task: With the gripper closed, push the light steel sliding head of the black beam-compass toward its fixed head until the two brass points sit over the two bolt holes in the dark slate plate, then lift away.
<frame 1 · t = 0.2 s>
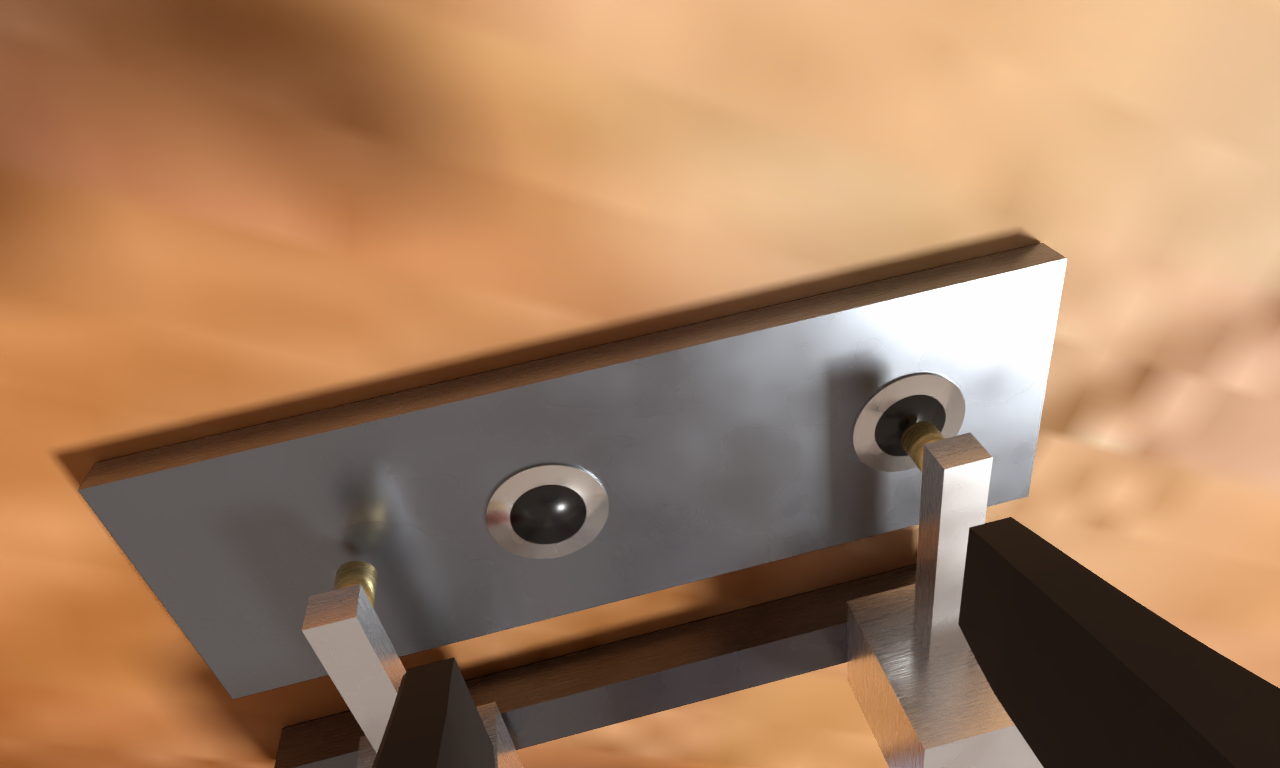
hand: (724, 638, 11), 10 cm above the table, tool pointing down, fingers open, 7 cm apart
fixed divider leg: (885, 592, 27), resting on bolt hole plate
sliding divider leg: (407, 767, 21), point 4 cm above the table, slide at 15.0 cm
bolt hole plate: (615, 470, 22), on the table
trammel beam: (656, 651, 26), on the table
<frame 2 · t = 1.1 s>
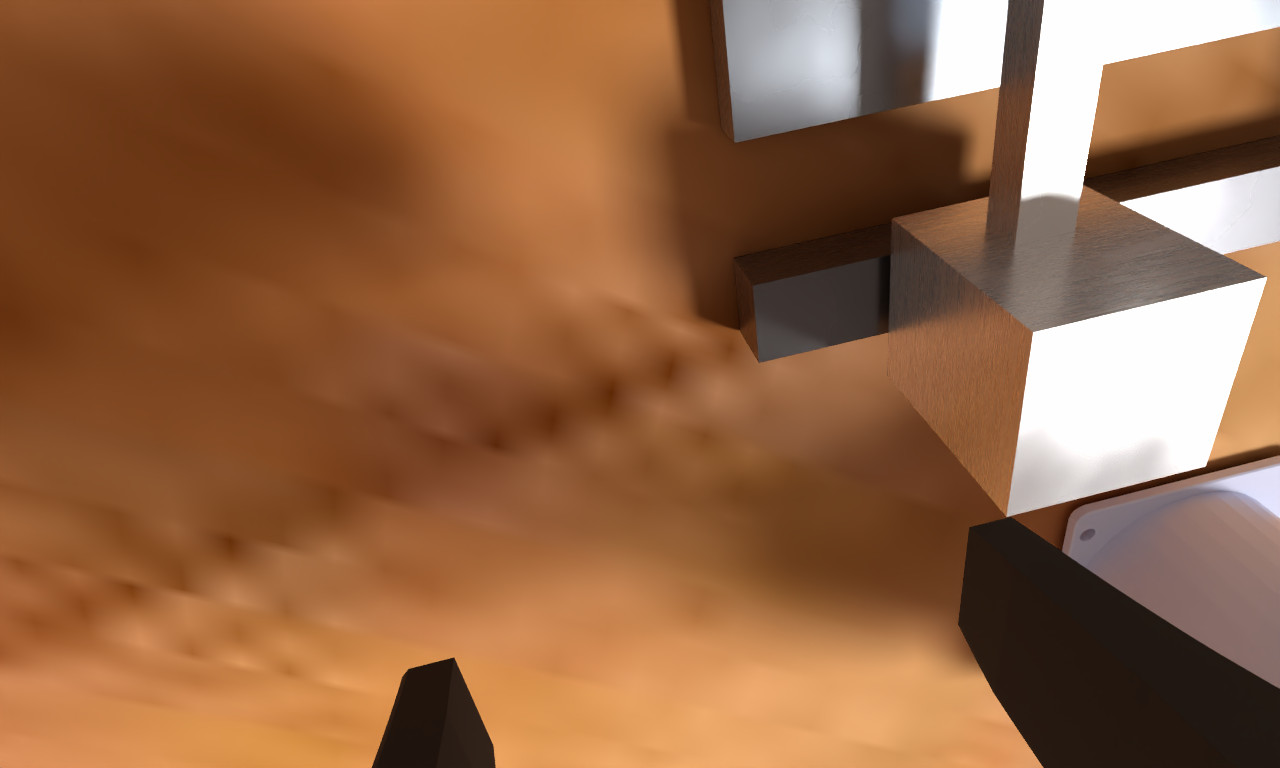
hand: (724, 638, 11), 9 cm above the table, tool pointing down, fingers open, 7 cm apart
sliding divider leg: (1063, 163, 14), point 4 cm above the table, slide at 15.0 cm
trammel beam: (1199, 190, 20), on the table
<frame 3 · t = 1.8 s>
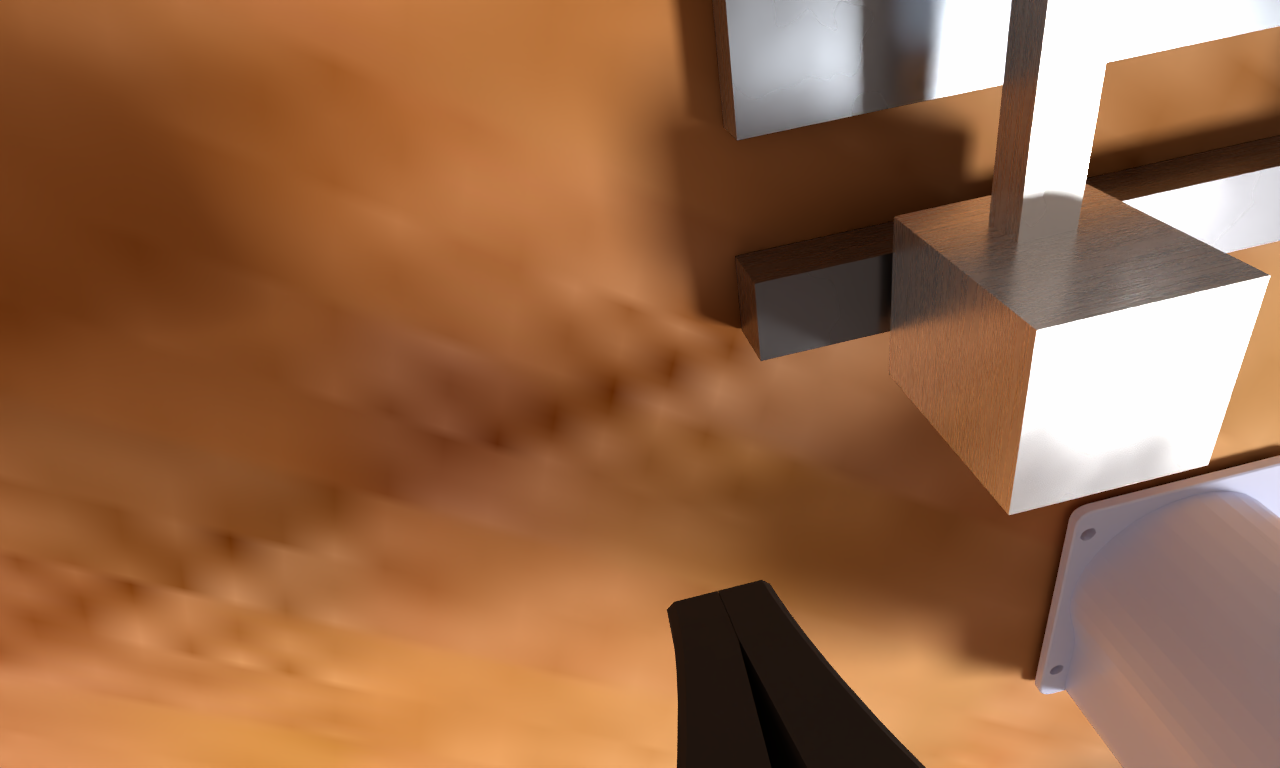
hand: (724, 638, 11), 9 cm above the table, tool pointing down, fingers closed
sliding divider leg: (1066, 161, 14), point 4 cm above the table, slide at 15.0 cm
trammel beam: (1201, 189, 20), on the table
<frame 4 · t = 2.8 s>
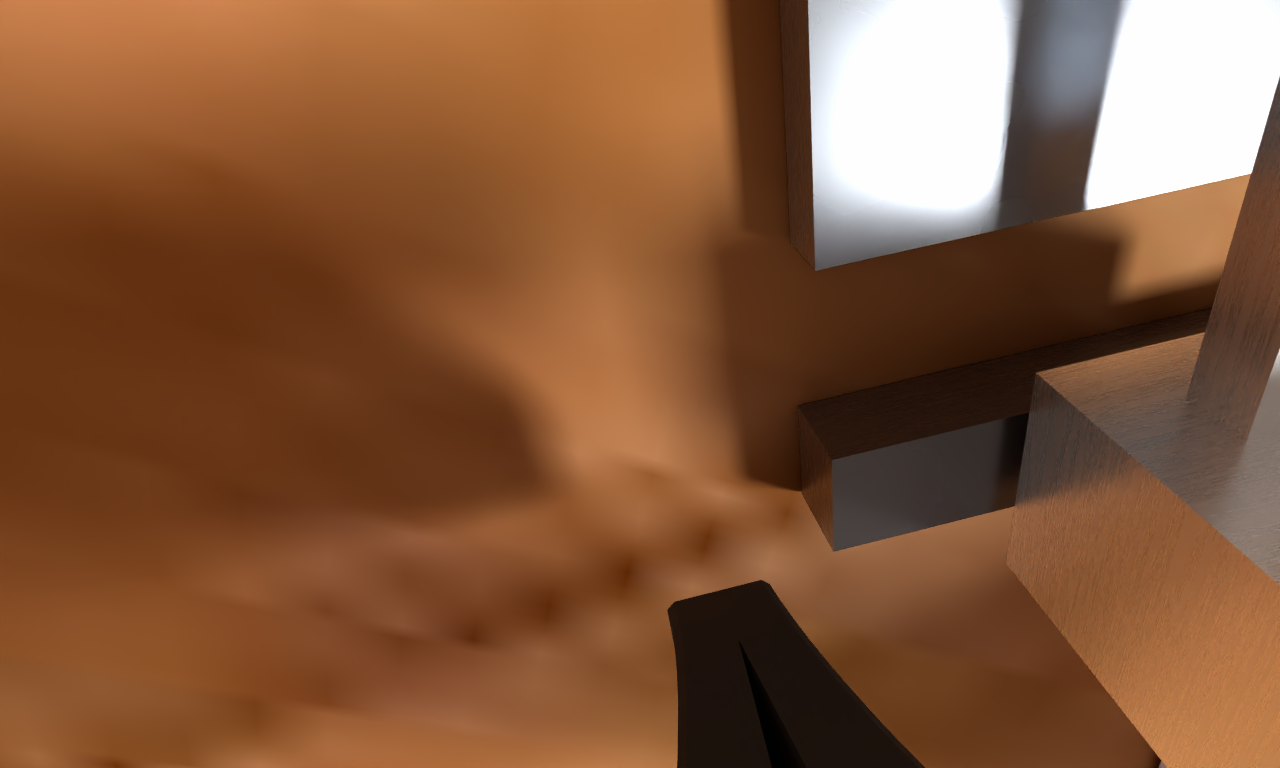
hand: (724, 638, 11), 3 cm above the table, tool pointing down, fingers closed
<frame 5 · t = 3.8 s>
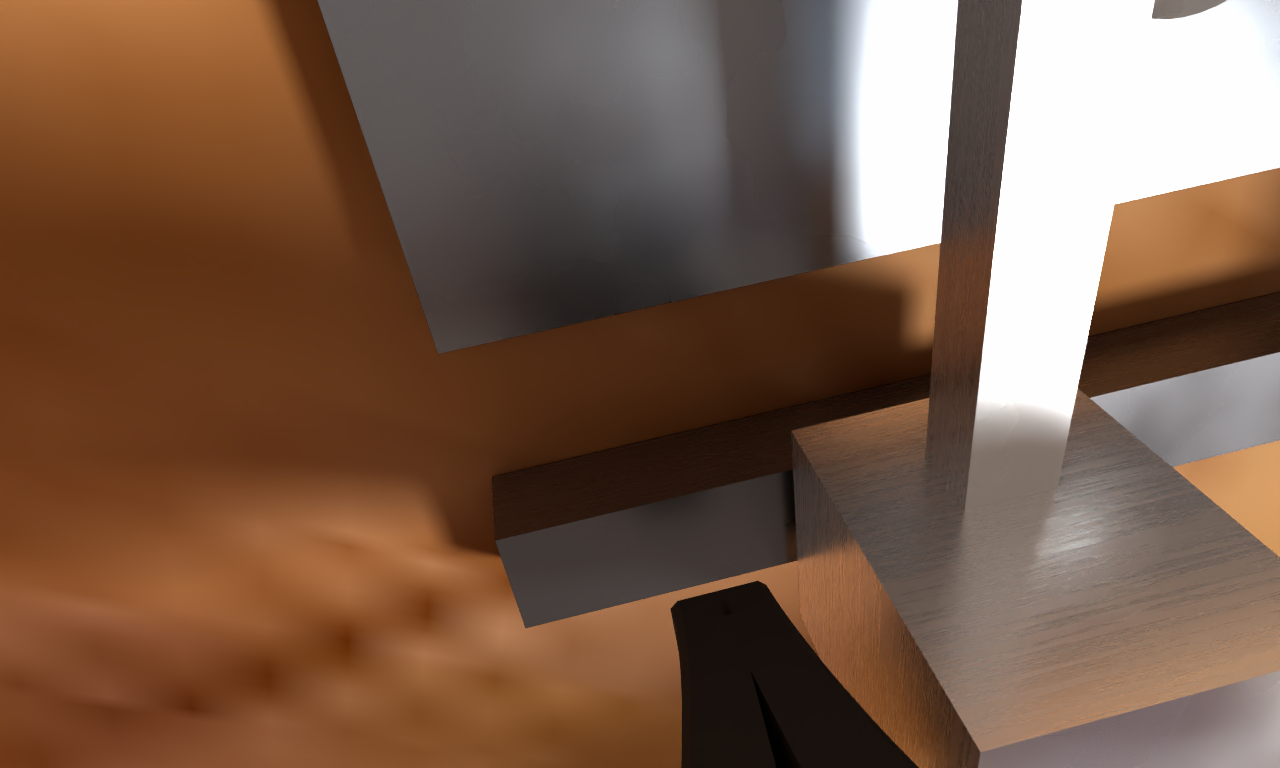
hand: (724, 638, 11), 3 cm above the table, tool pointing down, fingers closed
sliding divider leg: (1038, 408, 9), point 4 cm above the table, slide at 13.5 cm, touching gripper
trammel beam: (1156, 365, 14), on the table
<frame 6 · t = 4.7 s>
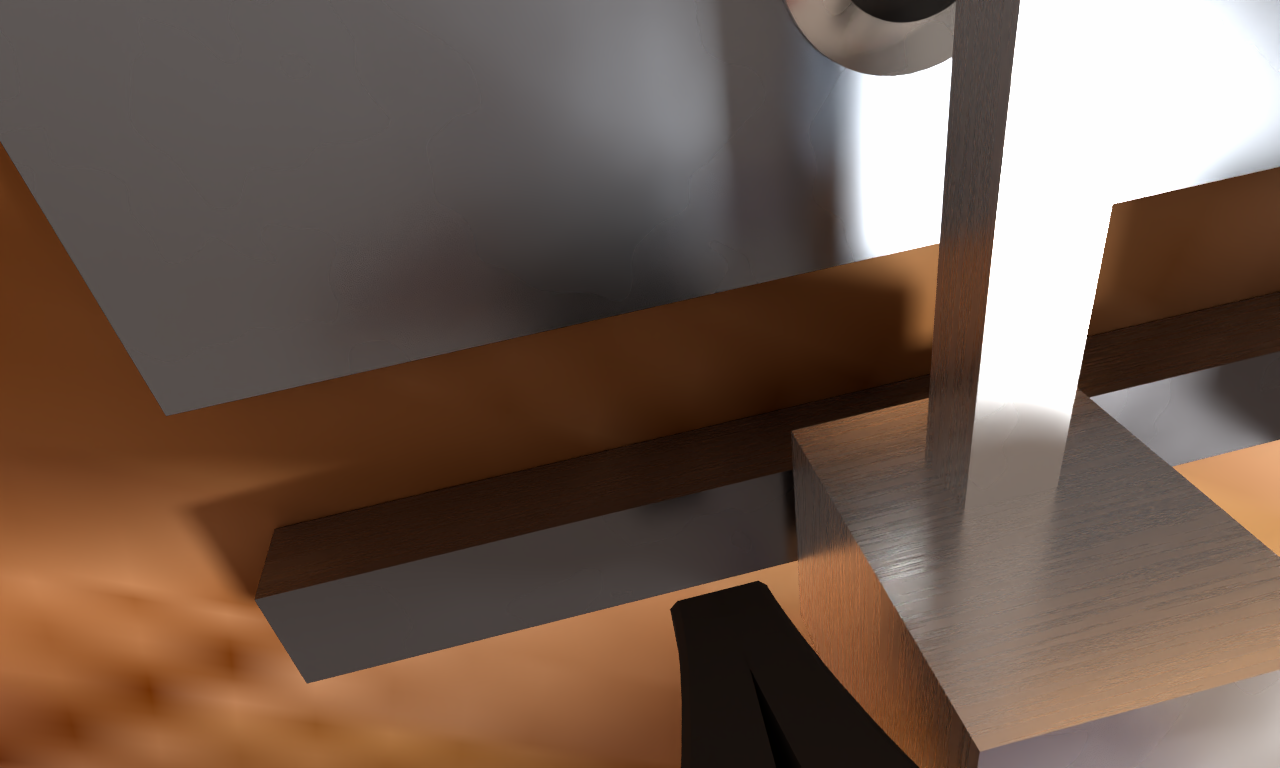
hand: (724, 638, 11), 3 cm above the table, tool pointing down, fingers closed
sliding divider leg: (1037, 408, 9), point 4 cm above the table, slide at 9.9 cm, touching gripper
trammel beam: (972, 409, 14), on the table
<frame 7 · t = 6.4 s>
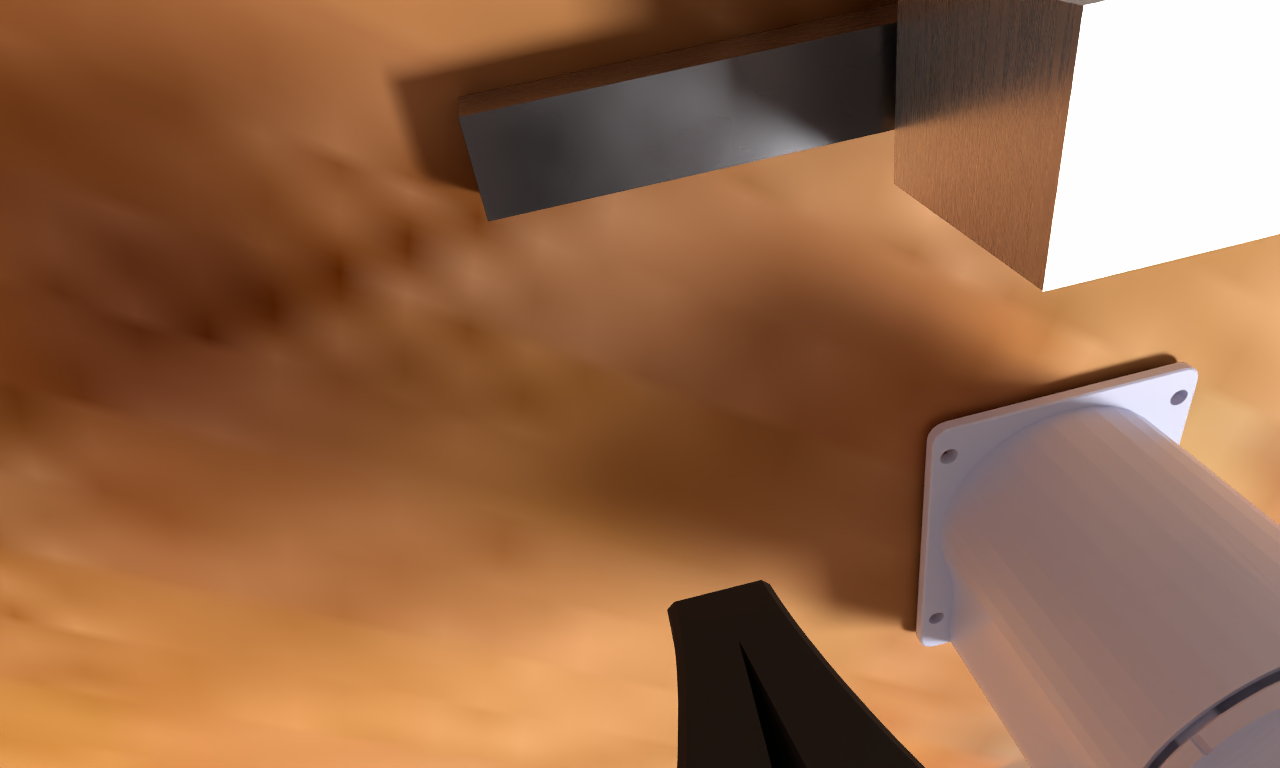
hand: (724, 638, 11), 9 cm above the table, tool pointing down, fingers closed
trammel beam: (1032, 25, 17), on the table
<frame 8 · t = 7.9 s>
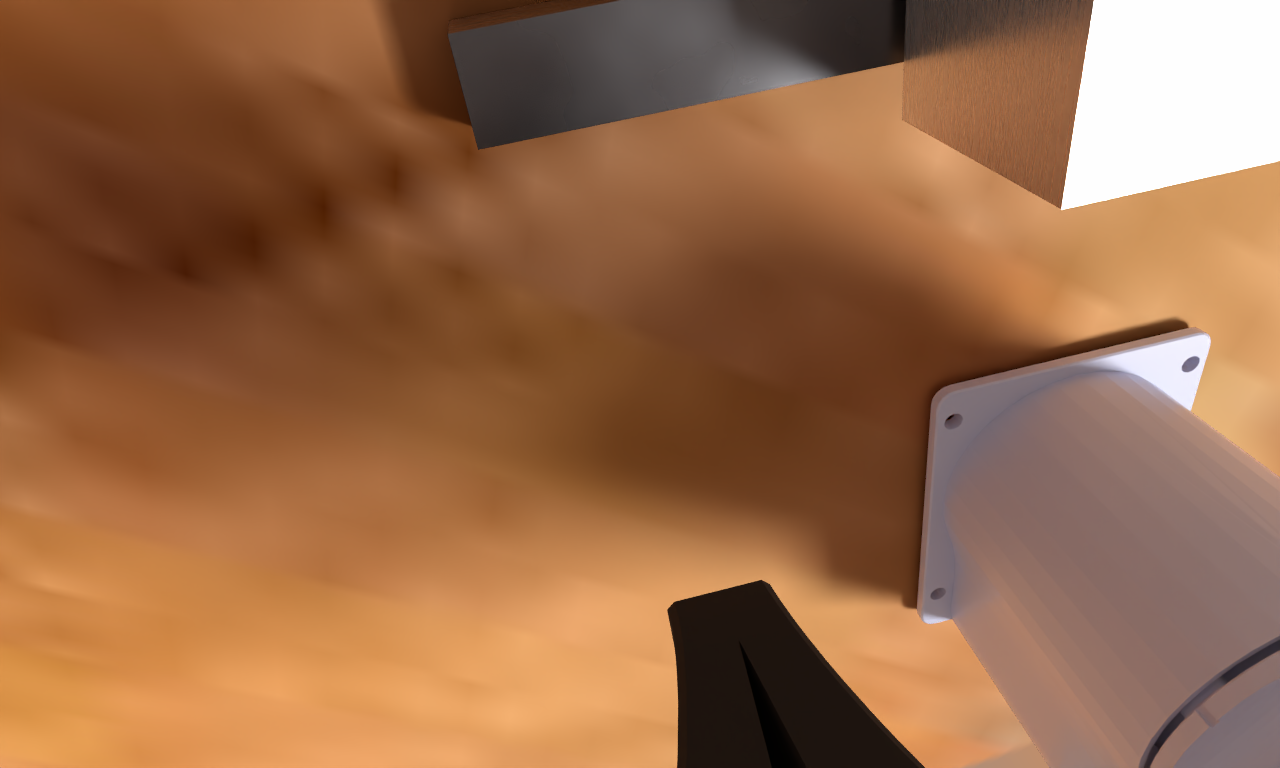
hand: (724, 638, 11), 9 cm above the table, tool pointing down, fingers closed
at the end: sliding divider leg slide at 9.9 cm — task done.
